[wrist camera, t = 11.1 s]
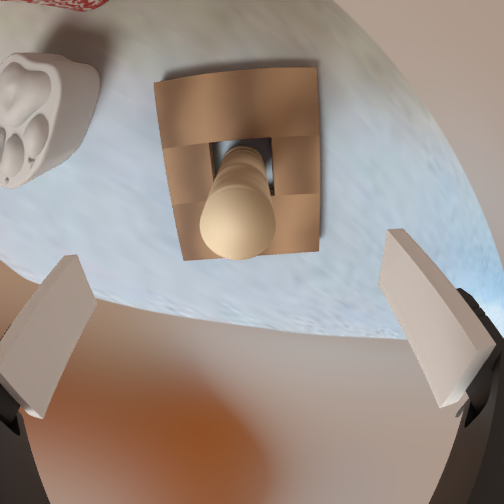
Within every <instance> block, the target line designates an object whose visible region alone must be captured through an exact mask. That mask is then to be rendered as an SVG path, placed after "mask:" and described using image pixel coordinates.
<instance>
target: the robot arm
mask: <svg viewBox="0 0 504 504" xmlns="http://www.w3.org/2000/svg"><path fill="white" fill-rule="evenodd" d="M378 286H379V287H380V289H381V291H382V293H383V294H384V296H385V298H386V300H387V302H388V303H389V305H390V307H391V309H392V311H393V313H394V314H395V316H396V318H397V320H398V322H399V324H400V326H401V328H402V330H403V331H404V333H405V335H406V337H407V339H408V341H409V343H410V345H411V347H412V349H413V351H414V353H415V355H416V357H417V359H418V362H419V363H420V366H421V368H422V370H423V372H424V374H425V376H426V379H427V381H428V383H429V385H430V387H431V390H432V392H433V394H434V396H435V399H436V401H437V403H438V406H439V408H442V407H445V406H447V405H450V404H453V403H455V402H458V400H459V399H460V398H461V396H462V395H463V394H464V392H465V391H466V392H467V394H468V396H469V399H468V400H467V401H466V402H465V404H464V405H463V406H462V407H461V409H460V410H459V411H458V413H457V415H456V417H459V416H460V415H461V413H462V412H463V415H462V418H461V422H460V425H459V428H458V432H457V435H456V438H455V441H454V444H453V447H452V450H451V453H450V456H449V458H448V461H447V463H446V466H445V468H444V471H443V473H442V476H441V478H440V480H439V483H438V485H437V487H436V489H435V491H434V494H433V496H432V498H431V500H430V502H429V504H504V339H503V337H502V336H501V334H500V333H499V331H498V330H497V329H496V327H495V326H494V324H493V323H492V322H491V320H490V319H489V318H488V316H486V315H485V312H484V311H483V310H482V308H479V304H478V303H477V302H476V301H475V299H474V298H473V297H472V296H471V295H470V294H468V293H467V292H466V291H464V290H463V289H461V288H458V289H455V287H454V286H453V285H452V284H451V282H450V281H449V280H448V279H447V277H446V276H445V275H444V274H443V273H442V271H441V270H440V269H439V268H438V267H437V266H436V264H435V263H434V262H433V261H432V260H431V259H430V257H429V256H428V255H427V254H426V253H425V252H424V251H423V250H422V248H421V247H420V246H419V245H418V244H417V243H416V242H415V241H414V240H413V239H412V237H411V236H410V235H409V234H408V233H407V232H406V231H405V230H404V229H403V228H402V229H387V234H386V241H385V248H384V254H383V260H382V266H381V271H380V276H379V282H378ZM96 305H97V302H96V300H95V297H94V295H93V293H92V290H91V288H90V286H89V283H88V281H87V279H86V276H85V274H84V271H83V269H82V266H81V264H80V261H79V258H78V256H77V255H67V256H64V257H63V258H62V259H61V260H60V261H59V263H58V264H57V265H56V266H55V267H54V269H53V270H52V271H51V272H50V274H49V275H48V276H47V277H46V279H45V280H44V281H43V282H42V284H41V285H40V286H39V287H38V289H37V290H36V291H35V293H34V294H33V296H32V297H31V298H30V299H29V301H28V302H27V303H26V305H25V306H24V307H23V309H22V310H21V312H20V313H19V314H18V316H17V317H16V319H15V320H14V321H13V323H12V324H11V325H10V326H9V327H8V329H7V330H6V332H5V333H4V336H3V337H2V338H1V340H0V504H50V502H49V500H48V497H47V495H46V492H45V489H44V487H43V484H42V482H41V479H40V476H39V473H38V470H37V467H36V464H35V461H34V458H33V455H32V451H31V448H30V444H29V441H28V437H27V433H26V429H25V425H24V420H23V417H22V415H21V413H20V412H19V411H18V410H19V407H20V406H21V407H22V408H23V409H24V410H25V411H26V412H27V413H28V414H29V415H32V416H35V417H38V418H41V419H43V418H44V415H45V413H46V410H47V408H48V405H49V403H50V400H51V398H52V396H53V393H54V391H55V389H56V386H57V384H58V382H59V379H60V377H61V375H62V373H63V370H64V368H65V366H66V364H67V362H68V360H69V357H70V355H71V353H72V351H73V349H74V347H75V345H76V343H77V341H78V339H79V337H80V335H81V333H82V331H83V329H84V327H85V326H86V324H87V321H88V320H89V318H90V316H91V314H92V312H93V310H94V309H95V307H96Z"/></svg>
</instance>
